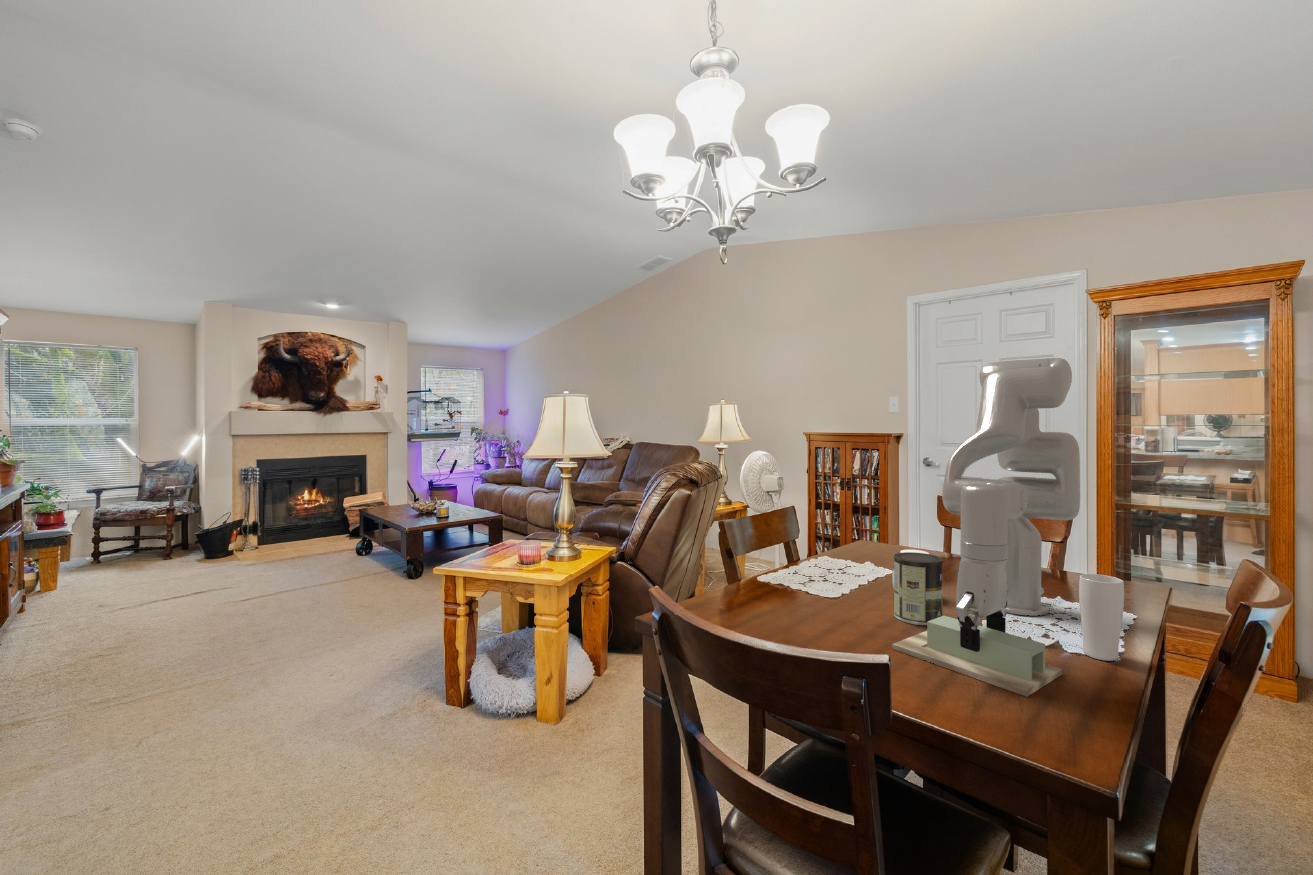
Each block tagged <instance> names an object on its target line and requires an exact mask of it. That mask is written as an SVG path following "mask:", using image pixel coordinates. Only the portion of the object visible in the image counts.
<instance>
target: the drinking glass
mask: <svg viewBox="0 0 1313 875" xmlns="http://www.w3.org/2000/svg"><path fill="white" fill-rule="evenodd" d="M1078 600H1079V602H1078V603H1079V612H1080V623H1081V633H1082V636H1081V637H1082V651H1083V654H1085V655H1086V656H1088V657H1090V658H1092V659H1094V660H1098V661H1103V662H1104V661H1105V662H1113V660H1114V661H1116V660H1118V658H1119V646H1120V638H1121V630H1122V622H1123V613H1124V605H1125V581H1124V580H1123V579H1120V578H1118V577H1115V576H1111V575H1106V574H1105V575H1104V574H1095V573H1083V574H1080V575H1079V583H1078Z"/></svg>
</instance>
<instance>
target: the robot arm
mask: <svg viewBox="0 0 1313 875" xmlns="http://www.w3.org/2000/svg"><path fill="white" fill-rule="evenodd" d="M978 374H979V376H978V378H979V383H980V386H981V393H980V394H981V395H980V402H979V408H978V410H979V411H978V414H977V424H976V431H975V432H974V433H973V434H972V435H970V436H969V437H968V438H967V439H965V440H964V441H963V442H962V443H961V444H960V445H959V446H958V447H957V448H956V449H955V450H954V452H953V453H952V454H951V456H950V457H949V460H948V461H947V463H946V468H945V473H944V479H943V484H942V494H941V497H942V504H943V506H944V509H945V510H946V511H947V512H948V513H951V514H953V515H957V516H960V562H959V566H958V567H959V568H958V571H957V572H958V573H957V582H956V597H955V598H956V600H955V601H956V602H955V604H956V605H955V611H956V615H957V618H956V619H958V621H959V626H960V646H961V647H962V648H966V649H969V650H972V651H975V652H978V651H980V630H979V629H977V628H978V625H979V624H980V622H981V618H985V617H986V619H985V620H986V622H985V624H986V626H985V627H987V628H990V629H994V630H997V631H1001V632H1005V633H1006V628H1007V627H1006V621H1007V620H1006V616H1007V613H1008V614H1013V615H1019V616H1027V615H1029V617H1032V616H1035V617H1036V616H1037V617H1038V615H1040V616H1044V615H1047V614H1049V612H1050V608H1049V605H1047V604H1046V603H1044V602H1042V595H1043V594H1044V592H1045V589H1044V588H1043V587H1042V542H1043V541H1042V536H1041V533H1040V531H1039V529H1038V528H1037V527H1036V526H1035V525H1034V524H1033V523H1032V521H1030V519H1043V520H1052V521H1070V520H1074V519H1075V518H1076V517H1077V516H1078V515H1079V513H1080V507H1081V460H1080V459H1081V458H1080V455H1081V454H1080V448H1079V442H1078V440H1077V438H1076V437H1074V435H1072V434H1070V433H1068V432H1061V431H1041V429H1040V411H1039V409H1055V408H1056V409H1057V408H1059V407H1061V406H1062V405H1063V403H1064V402H1065V400H1066V398H1067V395H1068V393H1069V392H1070V388H1071V385H1072V380H1073V371H1072V368H1071V366H1070V363H1069V362H1068V361H1067V360H1066V359H1065V358H1062V357H1051V358H1049V357H1048V358H1047V357H1046V358H1036V359H1035V358H1034V359H1015V360H1013V359H1012V360H1003V361H1002V360H1001V361H996V362H991V363H987V364H985V365H984V366H982V368H980V370H979V373H978ZM993 455H997V462H998V464H999V466H1000V468H1001V469H1003V470H1006V471H1010V472H1016V473H1034V474H1035V473H1036V474H1037V473H1038V474H1039V473H1041V474H1051V475H1053V476H1054V477H1055V478H1051V477H1050V478H1048V477H1047V478H1046V477H1045V478H1044V477H1034V476H1033V477H1032V476H1005V477H1000V478H998V479H995V478H993V479H990V478H979V477H964V474H965V472H966V470H967V469H968V468H969V467H970V466H971V465H973V464H974V463H976V462H978V461H981V460H982V459H985V458H988V457H991V456H993ZM971 617H974V618H973V620H972V619H971ZM979 626H980V625H979Z"/></svg>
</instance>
